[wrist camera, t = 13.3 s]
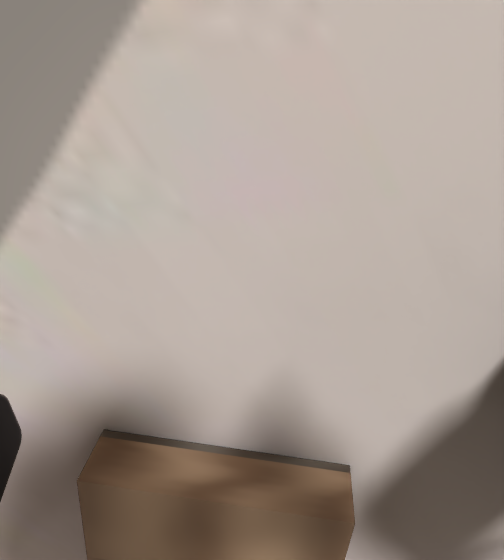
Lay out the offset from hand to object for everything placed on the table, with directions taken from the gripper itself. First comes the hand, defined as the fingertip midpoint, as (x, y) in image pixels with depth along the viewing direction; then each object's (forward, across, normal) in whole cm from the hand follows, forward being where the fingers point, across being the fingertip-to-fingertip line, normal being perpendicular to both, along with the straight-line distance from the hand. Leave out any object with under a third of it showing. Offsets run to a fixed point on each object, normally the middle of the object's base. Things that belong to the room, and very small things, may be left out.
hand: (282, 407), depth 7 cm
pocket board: (+13, +5, +22) cm, 26 cm away
